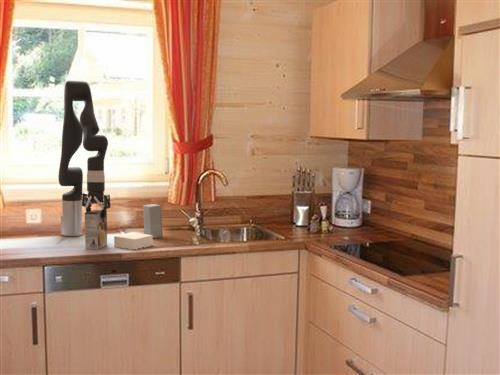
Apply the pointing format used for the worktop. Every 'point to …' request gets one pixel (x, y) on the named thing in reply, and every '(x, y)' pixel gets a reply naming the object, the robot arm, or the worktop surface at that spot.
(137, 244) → the cream block
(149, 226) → the skincare box
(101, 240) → the coffee box
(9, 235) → the worktop surface
